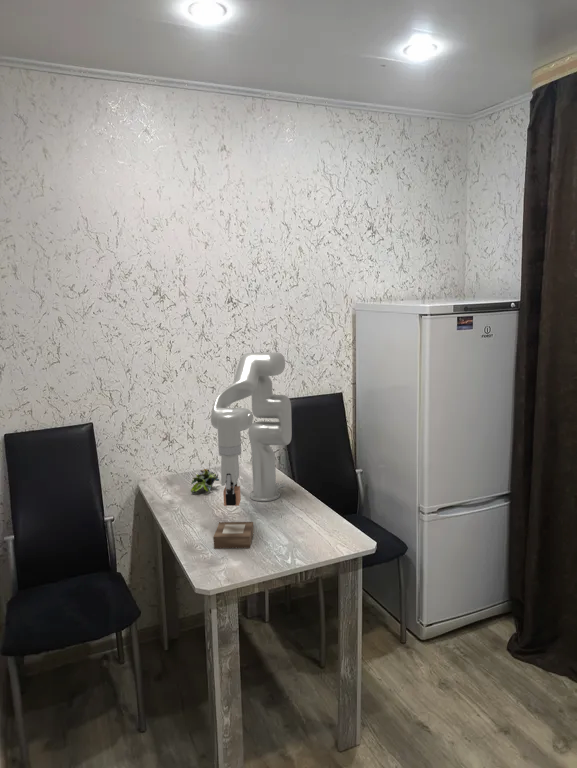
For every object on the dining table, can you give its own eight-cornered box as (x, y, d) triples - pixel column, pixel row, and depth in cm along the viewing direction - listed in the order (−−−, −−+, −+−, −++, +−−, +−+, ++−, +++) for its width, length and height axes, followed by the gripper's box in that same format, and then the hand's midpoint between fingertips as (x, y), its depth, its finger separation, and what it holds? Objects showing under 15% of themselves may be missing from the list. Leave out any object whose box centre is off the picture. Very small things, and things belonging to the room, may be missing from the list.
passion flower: (206, 500, 245) (219, 475, 247) (213, 503, 235) (226, 477, 238) (184, 489, 241) (197, 463, 244) (190, 492, 231) (203, 465, 234)
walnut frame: (219, 533, 198) (219, 521, 197) (253, 532, 197) (253, 521, 196) (214, 548, 186) (213, 536, 185) (250, 548, 185) (249, 536, 185)
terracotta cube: (226, 500, 192) (225, 486, 191) (240, 500, 191) (240, 486, 191) (223, 505, 187) (223, 491, 186) (238, 505, 186) (238, 491, 186)
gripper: (222, 443, 195) (225, 493, 198) (214, 457, 178) (217, 511, 181) (244, 442, 194) (246, 493, 197) (237, 456, 178) (240, 511, 180)
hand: (232, 501), depth 189 cm, fingers closed on terracotta cube, 4 cm apart
